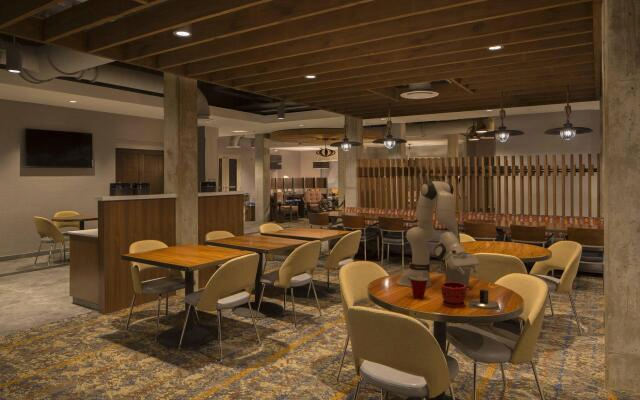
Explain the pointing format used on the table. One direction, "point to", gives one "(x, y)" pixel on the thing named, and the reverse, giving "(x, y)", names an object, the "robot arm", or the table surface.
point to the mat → (483, 308)
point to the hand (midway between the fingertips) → (470, 273)
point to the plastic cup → (418, 286)
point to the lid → (484, 301)
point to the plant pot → (453, 294)
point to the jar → (457, 275)
